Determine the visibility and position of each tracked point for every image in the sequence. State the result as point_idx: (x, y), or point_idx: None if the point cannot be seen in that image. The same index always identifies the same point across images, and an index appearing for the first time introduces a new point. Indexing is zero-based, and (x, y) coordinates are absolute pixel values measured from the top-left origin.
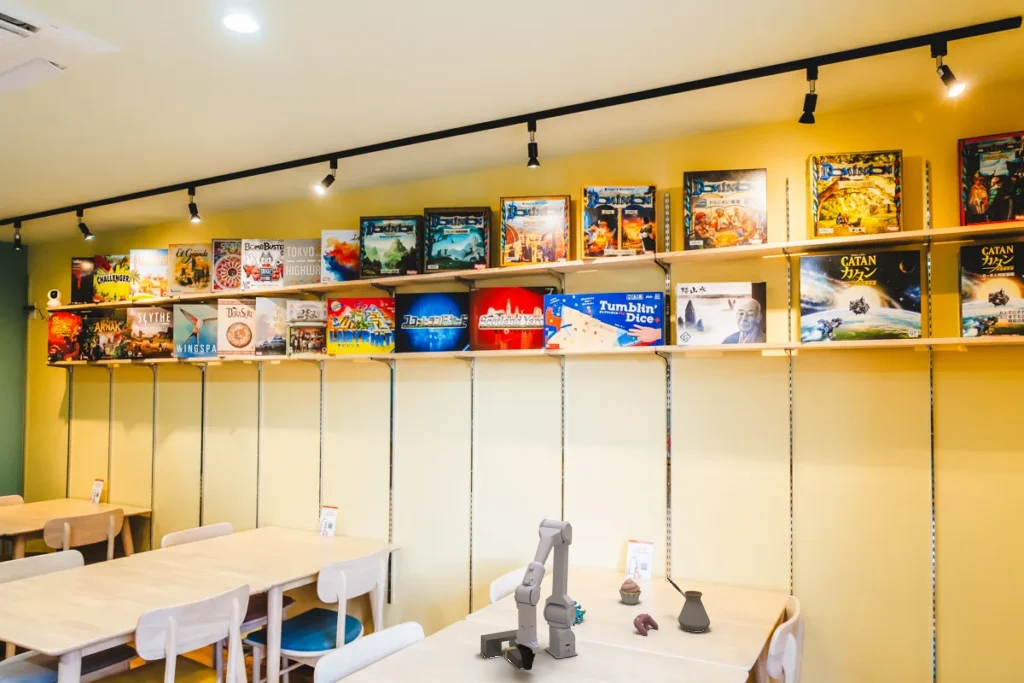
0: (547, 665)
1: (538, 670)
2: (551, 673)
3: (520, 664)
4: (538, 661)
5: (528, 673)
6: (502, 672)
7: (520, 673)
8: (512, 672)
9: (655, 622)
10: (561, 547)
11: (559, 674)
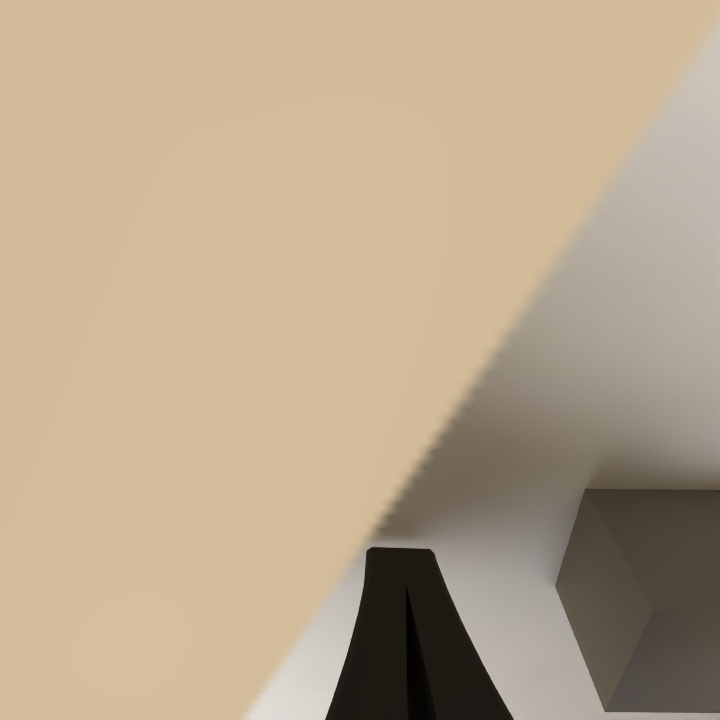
0: None
1: None
2: (296, 682)
3: (605, 561)
4: None
5: (403, 535)
6: (657, 253)
7: (455, 464)
8: (550, 390)
9: None
10: None
11: (247, 714)
